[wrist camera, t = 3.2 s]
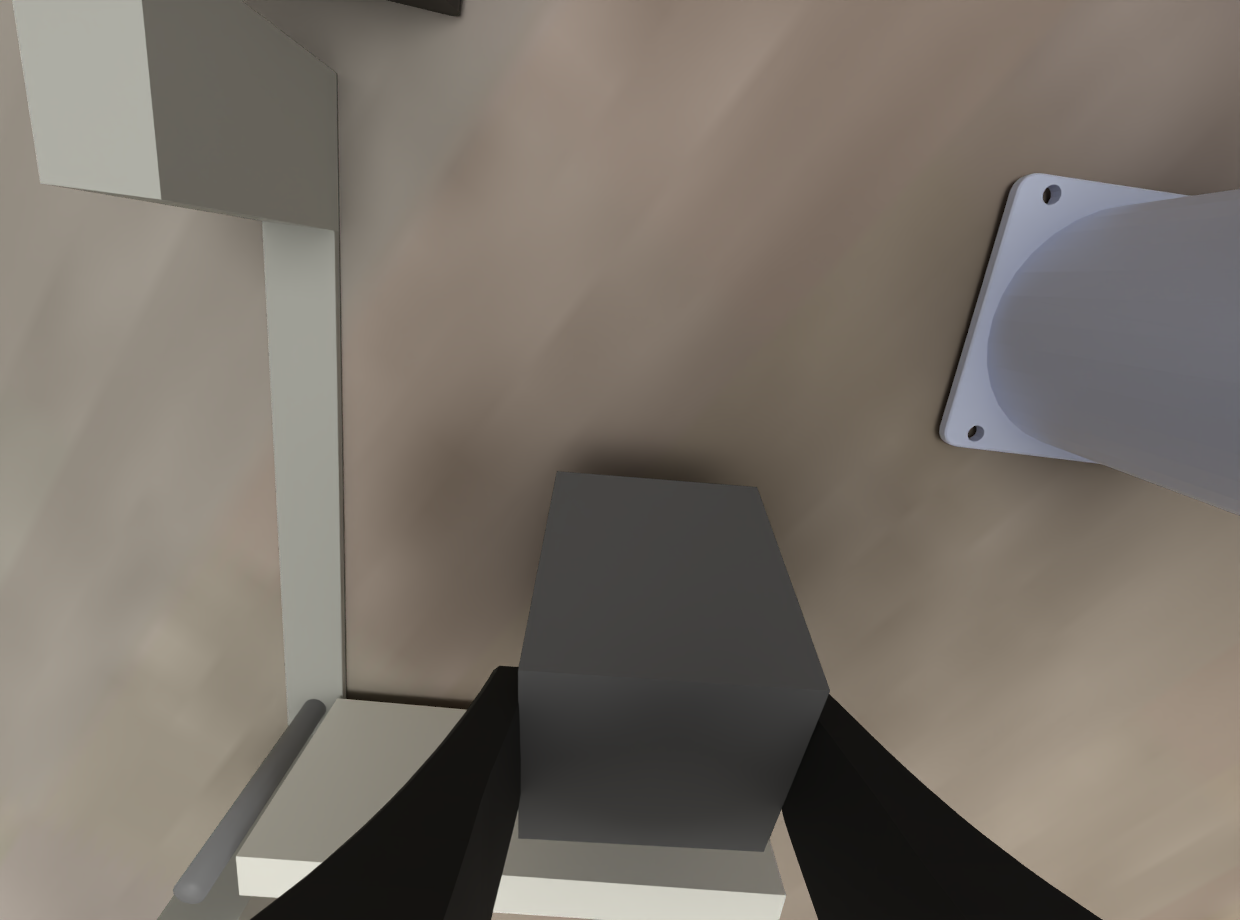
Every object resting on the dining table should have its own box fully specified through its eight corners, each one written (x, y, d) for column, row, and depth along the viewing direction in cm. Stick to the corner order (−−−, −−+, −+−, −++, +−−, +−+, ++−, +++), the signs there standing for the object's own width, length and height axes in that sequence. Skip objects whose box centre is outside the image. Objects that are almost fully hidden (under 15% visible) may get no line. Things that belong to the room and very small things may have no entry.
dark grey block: (757, 487, 14) (829, 690, 9) (704, 696, 19) (735, 919, 13) (556, 471, 14) (518, 670, 9) (548, 685, 18) (518, 908, 13)
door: (724, 795, 23) (764, 970, 17) (338, 764, 22) (243, 937, 16) (738, 733, 22) (786, 895, 16) (337, 698, 21) (235, 856, 15)
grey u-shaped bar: (336, 73, 16) (133, -82, 9) (347, 816, 23) (243, 1033, 16) (260, 61, 15) (-4, -106, 9) (296, 812, 23) (170, 1029, 16)
